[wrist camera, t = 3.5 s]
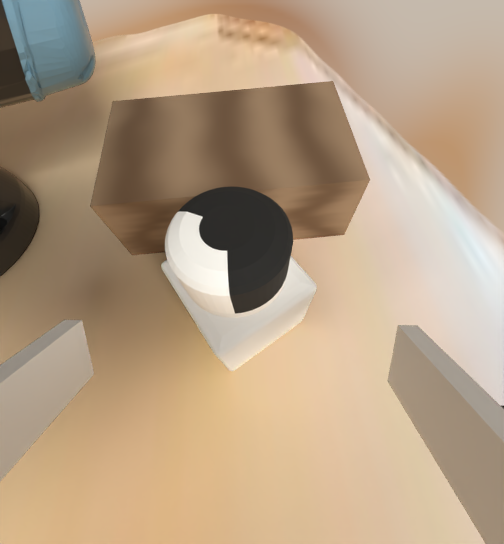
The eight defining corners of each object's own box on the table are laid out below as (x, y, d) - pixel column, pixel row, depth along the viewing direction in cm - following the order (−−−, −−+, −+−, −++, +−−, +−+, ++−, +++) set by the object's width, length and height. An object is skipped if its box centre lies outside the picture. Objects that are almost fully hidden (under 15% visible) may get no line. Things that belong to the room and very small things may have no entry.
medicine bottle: (253, 258, 25) (247, 148, 14) (304, 320, 23) (342, 241, 12) (185, 301, 24) (121, 213, 13) (231, 373, 21) (197, 338, 10)
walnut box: (132, 255, 26) (90, 206, 20) (143, 163, 31) (112, 101, 25) (344, 234, 26) (369, 179, 20) (318, 146, 31) (333, 81, 25)
